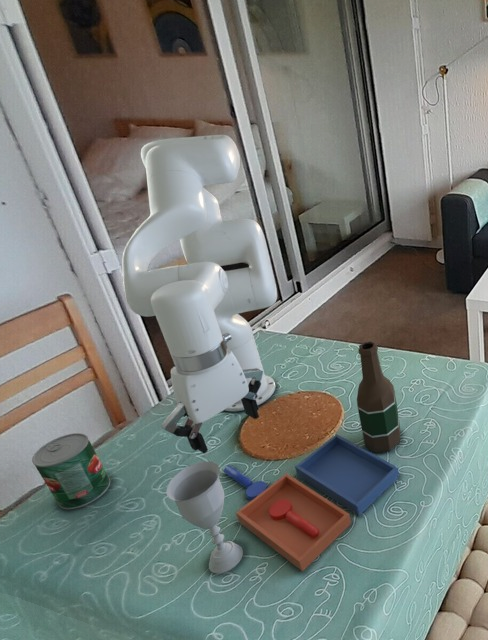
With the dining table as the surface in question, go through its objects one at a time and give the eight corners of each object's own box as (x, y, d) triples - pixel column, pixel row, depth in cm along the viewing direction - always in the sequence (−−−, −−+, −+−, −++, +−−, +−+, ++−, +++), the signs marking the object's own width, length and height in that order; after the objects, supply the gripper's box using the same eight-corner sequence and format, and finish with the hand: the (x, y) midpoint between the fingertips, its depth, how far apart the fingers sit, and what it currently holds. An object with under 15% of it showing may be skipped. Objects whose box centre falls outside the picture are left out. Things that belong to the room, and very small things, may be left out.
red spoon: (326, 529, 86) (325, 523, 85) (309, 546, 83) (307, 540, 83) (283, 499, 92) (281, 494, 91) (266, 514, 89) (264, 508, 88)
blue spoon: (218, 477, 97) (216, 471, 96) (235, 464, 100) (233, 459, 99) (254, 503, 92) (252, 497, 91) (272, 489, 94) (270, 484, 94)
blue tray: (297, 476, 97) (294, 466, 96) (338, 442, 105) (336, 433, 104) (359, 516, 89) (357, 506, 88) (399, 476, 97) (397, 467, 96)
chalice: (214, 540, 85) (182, 462, 77) (255, 536, 86) (227, 459, 77) (193, 582, 78) (156, 502, 70) (238, 578, 79) (206, 499, 71)
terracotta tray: (239, 522, 88) (235, 512, 87) (289, 482, 96) (286, 473, 95) (302, 571, 80) (299, 561, 79) (351, 523, 88) (349, 513, 86)
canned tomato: (120, 481, 97) (98, 438, 92) (77, 514, 90) (51, 470, 85) (92, 471, 99) (69, 428, 94) (48, 503, 92) (20, 459, 87)
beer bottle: (393, 456, 101) (377, 359, 90) (357, 451, 103) (338, 355, 92) (407, 429, 108) (394, 336, 97) (374, 425, 109) (358, 332, 99)
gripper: (235, 323, 90) (258, 397, 98) (130, 374, 77) (166, 455, 85) (261, 335, 87) (283, 410, 94) (156, 390, 74) (191, 473, 81)
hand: (228, 431), depth 90 cm, fingers open, 9 cm apart
